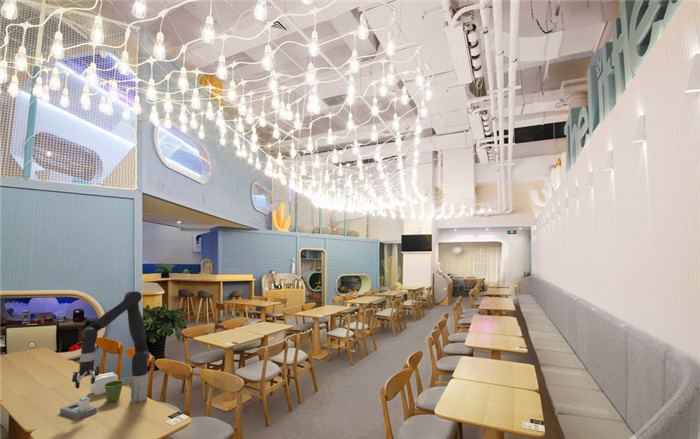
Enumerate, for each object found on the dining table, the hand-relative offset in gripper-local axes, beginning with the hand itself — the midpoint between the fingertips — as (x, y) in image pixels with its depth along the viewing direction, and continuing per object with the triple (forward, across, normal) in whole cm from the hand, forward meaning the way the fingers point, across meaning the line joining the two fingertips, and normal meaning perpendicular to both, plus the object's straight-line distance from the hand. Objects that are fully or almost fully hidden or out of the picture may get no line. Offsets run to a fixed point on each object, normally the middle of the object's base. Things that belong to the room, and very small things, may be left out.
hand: (85, 385), depth 218 cm
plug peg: (+17, 0, 0) cm, 17 cm away
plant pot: (+17, +21, +4) cm, 27 cm away
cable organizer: (+18, +28, +26) cm, 42 cm away
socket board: (+17, 0, +5) cm, 18 cm away
